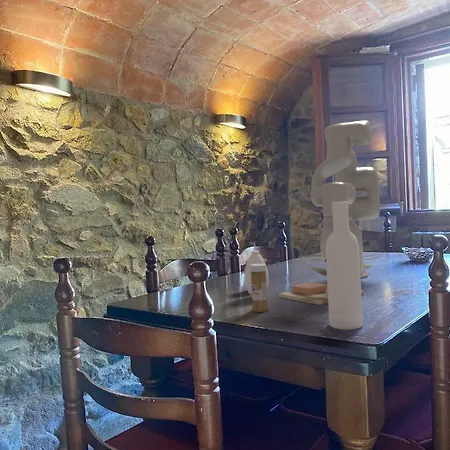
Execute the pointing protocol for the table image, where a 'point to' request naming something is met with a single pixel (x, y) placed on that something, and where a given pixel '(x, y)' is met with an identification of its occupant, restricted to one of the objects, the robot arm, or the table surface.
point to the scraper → (320, 270)
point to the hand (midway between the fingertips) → (338, 280)
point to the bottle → (343, 273)
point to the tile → (309, 288)
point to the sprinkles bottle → (259, 287)
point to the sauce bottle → (253, 259)
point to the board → (308, 297)
